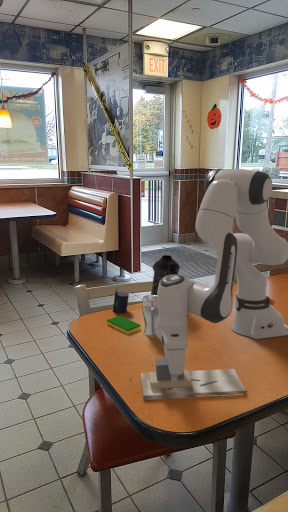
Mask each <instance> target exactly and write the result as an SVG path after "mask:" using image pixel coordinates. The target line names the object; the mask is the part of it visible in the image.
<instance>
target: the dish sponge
mask: <svg viewBox="0 0 288 512" xmlns="http://www.w3.org/2000/svg"><path fill="white" fill-rule="evenodd" d="M106 324H108V325H107V326H109V325H110V327H111V326H112V327H111V328H113V327H114V328H113V329H115V330H118V331H120V332H122V333H123V334H126V335H130V334H133V333H135V332H138V331H140V330H141V328H142V327H141V324H140V323H137V322H135V321H133V320H131V319H128V318H127V317H123V316H121V315H117V316H113V317H111V318H108V319H107V320H106Z"/></svg>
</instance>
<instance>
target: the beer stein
mask: <svg viewBox="0 0 288 512" xmlns="http://www.w3.org/2000/svg"><path fill="white" fill-rule="evenodd" d="M180 268H181V266H180V264H179V263H178V262H177V261H176V260H175V259H173V257H172V256H171V255H170V254H165V255H161V258H159V260H157V261H155V263H154V264H152V270H153V278H152V286H151V292H150V295H157V292H158V286H159V282H160V280H161V279H162V278H163V277H165V276H168V275H173V274H178V275H179V271H180Z"/></svg>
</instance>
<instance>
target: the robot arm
mask: <svg viewBox="0 0 288 512" xmlns="http://www.w3.org/2000/svg"><path fill="white" fill-rule="evenodd" d="M203 185H204V186H203V188H204V192H205V194H204V196H203V198H202V199H201V200H202V201H201V203H200V204H199V205H200V207H199V209H198V212H197V215H196V218H195V219H196V220H195V225H194V226H195V232H196V233H197V235H198V237H199V238H200V239H201V240H202V241H203V242H204V243H206V244H207V245H209V247H211V248H212V249H213V250H214V251H215V253H216V256H217V260H216V261H217V262H216V268H215V276H214V283H213V285H209V284H206V283H202V282H199V281H195V280H192V279H189V278H188V279H187V278H186V277H185V276H183V275H181V274H179V273H178V274H173V275H168V276H165V277H163V278H162V279H161V280H160V282H159V286H158V292H157V309H158V317H157V335H156V336H157V337H158V339H160V341H161V343H162V346H163V351H164V355H165V358H166V360H167V364H168V368H169V372H170V375H171V382H172V383H173V382H177V377H178V375H182V374H183V371H184V370H185V360H186V349H188V345H189V344H188V343H189V342H188V317H187V315H188V314H191V315H194V316H196V317H197V316H198V317H199V318H201V319H202V318H203V319H204V320H205V321H208V322H209V323H212V324H217V323H220V322H222V321H224V320H226V319H227V318H228V317H229V316H230V315H231V313H232V310H233V287H234V279H235V273H236V281H237V293H236V294H235V302H234V304H235V313H234V317H233V321H232V324H231V330H232V331H233V332H235V333H236V334H239V335H242V336H246V337H250V338H252V339H255V340H261V339H268V338H269V339H270V338H275V337H276V338H277V337H284V336H288V325H287V324H285V319H284V317H283V315H282V314H281V313H280V312H279V310H277V309H276V308H274V307H273V306H274V305H275V304H276V302H275V300H274V299H272V298H271V297H269V296H268V295H267V287H268V279H267V276H265V274H264V273H262V272H261V271H259V269H257V268H256V267H255V265H254V264H260V265H268V266H269V265H270V266H273V265H274V266H275V265H283V264H284V263H285V262H287V260H288V241H287V240H286V238H284V237H282V236H280V235H279V234H278V233H277V232H276V231H275V230H274V229H273V227H272V225H271V224H270V223H271V222H270V220H269V213H268V202H267V201H268V200H269V199H270V197H271V193H272V190H273V181H272V178H271V176H270V175H269V174H268V173H266V172H265V171H261V170H257V171H256V170H252V169H251V170H250V169H245V168H244V169H243V168H224V169H223V168H215V169H211V170H210V172H208V174H207V175H206V176H205V179H204V184H203ZM235 219H236V225H237V227H238V229H239V230H240V231H241V232H237V233H234V230H233V229H234V228H233V227H234V226H233V225H234V220H235Z"/></svg>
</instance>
